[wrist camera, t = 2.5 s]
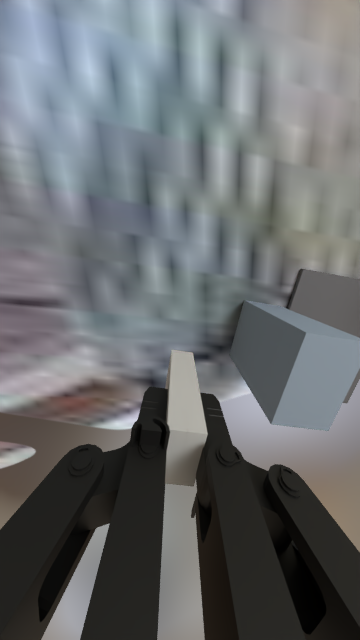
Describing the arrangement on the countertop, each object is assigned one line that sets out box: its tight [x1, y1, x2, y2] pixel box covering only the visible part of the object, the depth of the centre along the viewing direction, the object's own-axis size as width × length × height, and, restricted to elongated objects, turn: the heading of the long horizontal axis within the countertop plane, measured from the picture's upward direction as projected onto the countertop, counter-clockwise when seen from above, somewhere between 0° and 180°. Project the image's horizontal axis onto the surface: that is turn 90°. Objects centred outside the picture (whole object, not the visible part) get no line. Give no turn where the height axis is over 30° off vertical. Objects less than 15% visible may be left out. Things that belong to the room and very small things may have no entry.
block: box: [230, 300, 360, 431], centre depth 20 cm, size 5×8×12 cm, turn 170°
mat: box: [287, 269, 360, 403], centre depth 26 cm, size 14×18×1 cm
